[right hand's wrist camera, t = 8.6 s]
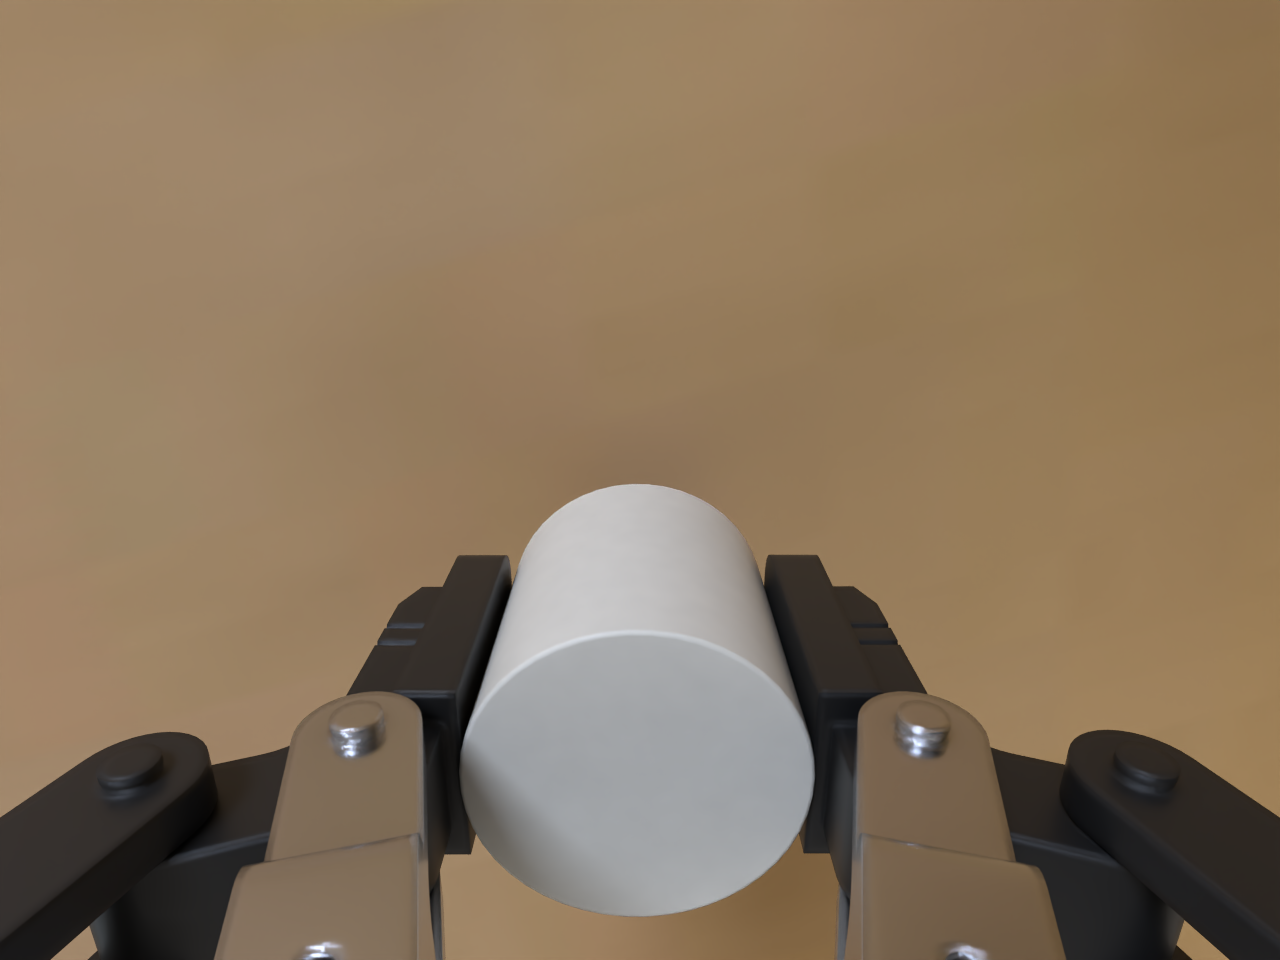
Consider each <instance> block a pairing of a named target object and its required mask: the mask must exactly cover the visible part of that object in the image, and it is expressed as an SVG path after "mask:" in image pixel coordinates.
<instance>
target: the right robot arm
mask: <svg viewBox="0 0 1280 960" xmlns="http://www.w3.org/2000/svg"><path fill="white" fill-rule="evenodd" d="M511 588H512V581H511V568H510V561H509V558H508V556H507V555H459V556H458V557H457V559H456V561H455V563H454V565H453V567H452V569H451V571H450V573H449V575H448V577H447V579H446V581H445V583H444V585H443V587H422V588H420V589H419V590H418V591H416V592H415V593H413V594H412V595H411V596H409V597H408V598H407V599H405V600H404V601H402V602H401V603H400V604H398V606H397V608H396V610H395V611H394V613H393V615H392V617H391V618H390V620H389V622H388V624H387V628H385V629H384V631H383V632H382V634H381V636H380V638H379V639H378V644H377V645H375V646H374V648H373V650H372V652H371V653H370V655H369V657H368V659H367V660H366V662H365V664H364V666H363V667H362V669H361V671H360V673H359V674H358V676H357V678H356V680H355V681H354V683H353V685H352V687H351V688H350V690H349V692H348V694H347V695H346V696H345V697H341V698H338V699H336V700H333V701H331V702H329V703H327V704H325V705H323V706H321V707H319V708H318V709H316V710H315V711H313V712H312V713H310V714H309V715H308V716H307V717H306V718H304V719H303V721H302V722H301V723H300V724H299V725H298V727H297V728H296V730H295V731H294V733H293V736H292V739H291V743H290V746H288V747H285V748H283V749H280V750H277V751H274V752H270V753H266V754H262V755H258V756H253V757H248V758H243V759H239V760H234V761H229V762H225V763H220V764H215V765H211V761H210V757H209V752H208V749H207V746H206V745H205V744H204V742H203V741H202V740H200V739H199V738H197V737H195V736H192V735H190V734H185V733H180V732H162V733H153V734H147V735H142V736H138V737H134V738H131V739H128V740H125V741H122V742H119V743H117V744H114V745H112V746H110V747H107V748H105V749H103V750H101V751H99V752H97V753H96V754H94V755H92V756H91V757H89V758H87V759H86V760H84V761H83V762H81V763H80V764H78V765H77V766H75V767H74V768H72V769H71V770H69V771H68V772H67V773H65V774H64V775H62V776H61V777H59V778H58V779H56V780H55V781H53V782H52V783H50V784H49V785H47V786H46V787H45V788H43V789H42V790H40V791H39V792H37V793H36V794H34V795H33V796H31V797H30V798H28V799H27V800H25V801H24V802H22V803H21V804H20V805H18V806H17V807H15V808H14V809H12V810H11V811H9V812H8V813H6V814H5V815H3V816H2V817H0V960H51V959H52V958H53V957H54V956H55V955H56V954H57V953H58V952H60V951H61V950H62V949H63V948H64V947H65V946H66V945H68V944H69V943H70V942H71V941H72V940H73V939H74V938H75V937H77V936H78V935H79V934H80V933H81V932H82V931H83V930H85V929H86V928H87V927H88V926H90V929H91V932H92V935H93V938H94V941H95V944H96V947H97V950H98V951H97V952H96V953H94V954H93V955H92V956H91V957H90V958H89V959H88V960H445V935H444V908H443V895H442V886H441V877H440V868H441V864H442V861H443V858H444V854H471V852H472V848H473V844H474V840H475V836H476V832H475V831H474V829H473V827H472V825H471V822H470V820H469V817H468V815H467V813H466V810H465V806H464V802H463V798H462V794H461V790H460V778H459V765H460V753H461V749H462V745H463V741H464V737H465V733H466V730H467V727H468V723H469V720H470V717H471V714H472V711H473V708H474V705H475V701H476V698H477V695H478V692H479V689H480V686H481V683H482V679H483V676H484V673H485V670H486V667H487V664H488V661H489V657H490V654H491V651H492V648H493V645H494V642H495V639H496V635H497V632H498V629H499V626H500V623H501V620H502V616H503V613H504V610H505V607H506V604H507V601H508V598H509V594H510V591H511ZM764 588H765V592H766V595H767V598H768V601H769V605H770V608H771V611H772V614H773V618H774V621H775V624H776V627H777V631H778V634H779V637H780V641H781V644H782V647H783V650H784V654H785V657H786V660H787V663H788V667H789V670H790V673H791V676H792V680H793V683H794V686H795V689H796V693H797V696H798V699H799V703H800V706H801V709H802V712H803V716H804V719H805V722H806V725H807V729H808V732H809V735H810V739H811V743H812V748H813V752H814V759H815V783H814V792H813V797H812V800H811V804H810V808H809V811H808V815H807V817H806V819H805V821H804V823H803V826H802V828H801V830H800V832H799V835H800V839H801V844H802V848H803V852H804V853H830V855H831V859H832V862H833V866H834V869H835V873H836V877H837V879H838V882H839V886H838V895H837V908H836V935H835V960H1192V959H1191V958H1190V957H1189V956H1188V955H1187V954H1186V953H1184V952H1183V951H1182V950H1181V949H1180V948H1179V947H1178V946H1177V945H1176V944H1177V941H1178V938H1179V935H1180V932H1181V929H1182V926H1183V923H1184V920H1185V921H1186V922H1187V923H1189V924H1190V925H1191V926H1192V927H1193V928H1194V929H1195V930H1197V931H1198V932H1199V933H1200V934H1201V935H1202V936H1203V937H1204V938H1206V939H1207V940H1208V941H1209V942H1210V943H1211V944H1212V945H1214V946H1215V947H1216V948H1217V949H1218V950H1219V951H1220V952H1222V953H1223V954H1224V955H1225V956H1226V957H1227V958H1228V959H1229V960H1280V818H1279V817H1278V816H1277V815H1275V814H1274V813H1272V812H1271V811H1269V810H1268V809H1266V808H1265V807H1263V806H1262V805H1260V804H1259V803H1257V802H1256V801H1255V800H1253V799H1252V798H1250V797H1249V796H1247V795H1246V794H1244V793H1243V792H1241V791H1240V790H1238V789H1237V788H1235V787H1234V786H1233V785H1231V784H1230V783H1228V782H1227V781H1225V780H1224V779H1222V778H1221V777H1219V776H1218V775H1216V774H1215V773H1213V772H1212V771H1211V770H1209V769H1208V768H1206V767H1205V766H1203V765H1202V764H1200V763H1199V762H1197V761H1196V760H1194V759H1193V758H1191V757H1190V756H1188V755H1186V754H1185V753H1183V752H1182V751H1180V750H1178V749H1176V748H1174V747H1172V746H1170V745H1168V744H1165V743H1163V742H1160V741H1158V740H1155V739H1152V738H1149V737H1146V736H1143V735H1139V734H1135V733H1131V732H1125V731H1117V730H1097V731H1091V732H1087V733H1084V734H1082V735H1080V736H1078V737H1077V738H1075V739H1074V740H1073V742H1072V743H1071V744H1070V747H1069V750H1068V755H1067V759H1066V763H1065V765H1063V764H1058V763H1054V762H1049V761H1044V760H1040V759H1035V758H1030V757H1025V756H1021V755H1016V754H1012V753H1008V752H1004V751H1000V750H997V749H994V748H991V747H990V743H989V739H988V736H987V733H986V731H985V730H984V728H983V727H982V725H981V724H980V723H979V722H978V721H977V719H976V718H974V717H973V716H972V715H971V714H970V713H968V712H967V711H965V710H964V709H962V708H961V707H959V706H957V705H955V704H953V703H951V702H949V701H947V700H944V699H942V698H939V697H935V696H932V695H928V694H927V692H926V690H925V688H924V687H923V685H922V683H921V681H920V680H919V678H918V676H917V674H916V672H915V671H914V669H913V667H912V665H911V664H910V662H909V660H908V658H907V656H906V655H905V653H904V651H903V649H902V647H901V646H900V645H898V640H897V639H896V637H895V635H894V633H893V631H892V630H891V628H888V623H887V621H886V619H885V617H884V615H883V614H882V612H881V610H880V608H879V607H878V605H877V603H875V602H874V601H872V600H871V599H870V598H868V597H867V596H866V595H864V594H863V593H862V592H860V591H859V590H857V589H856V588H855V587H853V586H832V584H831V582H830V580H829V577H828V575H827V573H826V571H825V569H824V567H823V565H822V563H821V561H820V559H819V557H818V556H817V555H769V556H768V557H767V561H766V567H765V581H764Z"/></svg>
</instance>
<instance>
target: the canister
mask: <svg viewBox="0 0 1280 960" xmlns="http://www.w3.org/2000/svg"><path fill="white" fill-rule="evenodd" d="M459 778H460V790H461V794H462V798H463V802H464V806H465V810H466V813H467V815H468V817H469V820H470V822H471V825H472V827H473V829H474V831H475V832H476V834H477V836H478V837H479V839H480V841H481V842H482V844H483V845H484V847H485V848H486V849H487V850H488V851H489V853H490V854H491V855H492V856H493V858H494V859H495V860H496V861H497V862H498V863H499V864H500V865H501V866H502V867H503V868H505V869H506V870H507V871H508V872H509V873H510V874H511V875H513V876H514V877H515V878H517V879H518V880H519V881H521V882H522V883H523V884H525V885H526V886H528V887H530V888H532V889H533V890H535V891H537V892H539V893H540V894H542V895H544V896H546V897H549V898H551V899H553V900H555V901H558V902H560V903H562V904H565V905H569V906H572V907H575V908H578V909H581V910H585V911H590V912H595V913H600V914H606V915H615V916H624V917H649V916H660V915H669V914H675V913H680V912H685V911H690V910H693V909H696V908H700V907H703V906H707V905H710V904H712V903H714V902H717V901H719V900H722V899H724V898H727V897H729V896H731V895H732V894H734V893H736V892H738V891H740V890H742V889H743V888H745V887H747V886H748V885H750V884H751V883H752V882H754V881H755V880H757V879H758V878H760V877H761V876H762V875H763V874H765V873H766V872H767V871H768V870H769V869H770V868H771V867H772V866H773V865H775V864H776V863H777V862H778V861H779V859H780V858H781V857H782V856H783V855H784V854H785V852H786V851H787V850H788V849H789V848H790V846H791V845H792V843H793V841H794V840H795V838H796V837H797V835H798V834H799V832H800V830H801V828H802V826H803V823H804V821H805V819H806V817H807V815H808V811H809V808H810V804H811V800H812V797H813V792H814V783H815V759H814V752H813V748H812V743H811V739H810V735H809V732H808V729H807V725H806V722H805V719H804V716H803V712H802V709H801V706H800V703H799V699H798V696H797V693H796V689H795V686H794V683H793V680H792V676H791V673H790V670H789V667H788V663H787V660H786V657H785V654H784V650H783V647H782V644H781V641H780V637H779V634H778V631H777V627H776V624H775V621H774V618H773V614H772V611H771V608H770V605H769V601H768V598H767V595H766V592H765V588H764V585H763V582H762V579H761V575H760V572H759V569H758V566H757V563H756V560H755V558H754V555H753V552H752V550H751V548H750V547H749V545H748V543H747V541H746V540H745V538H744V537H743V535H742V534H741V533H740V531H739V530H738V529H737V527H736V526H735V525H734V524H733V523H732V522H731V521H730V520H729V519H728V518H727V517H726V516H725V515H724V514H722V513H721V512H720V511H718V510H717V509H716V508H714V507H713V506H712V505H710V504H708V503H706V502H705V501H703V500H701V499H699V498H698V497H695V496H693V495H690V494H688V493H685V492H683V491H680V490H676V489H672V488H669V487H665V486H657V485H650V484H627V485H618V486H612V487H608V488H603V489H599V490H596V491H593V492H591V493H588V494H585V495H583V496H581V497H579V498H577V499H575V500H573V501H571V502H569V503H568V504H566V505H565V506H563V507H562V508H560V509H559V510H558V511H556V512H555V513H554V514H553V515H552V516H550V517H549V518H548V519H547V520H546V521H545V522H544V523H543V524H542V525H541V527H540V528H539V529H538V530H537V531H536V533H535V534H534V535H533V537H532V538H531V540H530V542H529V543H528V545H527V547H526V548H525V551H524V553H523V556H522V558H521V560H520V563H519V566H518V569H517V572H516V576H515V579H514V582H513V585H512V588H511V591H510V594H509V598H508V601H507V604H506V607H505V610H504V613H503V616H502V620H501V623H500V626H499V629H498V632H497V635H496V639H495V642H494V645H493V648H492V651H491V654H490V657H489V661H488V664H487V667H486V670H485V673H484V676H483V679H482V683H481V686H480V689H479V692H478V695H477V698H476V701H475V705H474V708H473V711H472V714H471V717H470V720H469V723H468V727H467V730H466V733H465V737H464V741H463V745H462V749H461V753H460V765H459Z"/></svg>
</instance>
